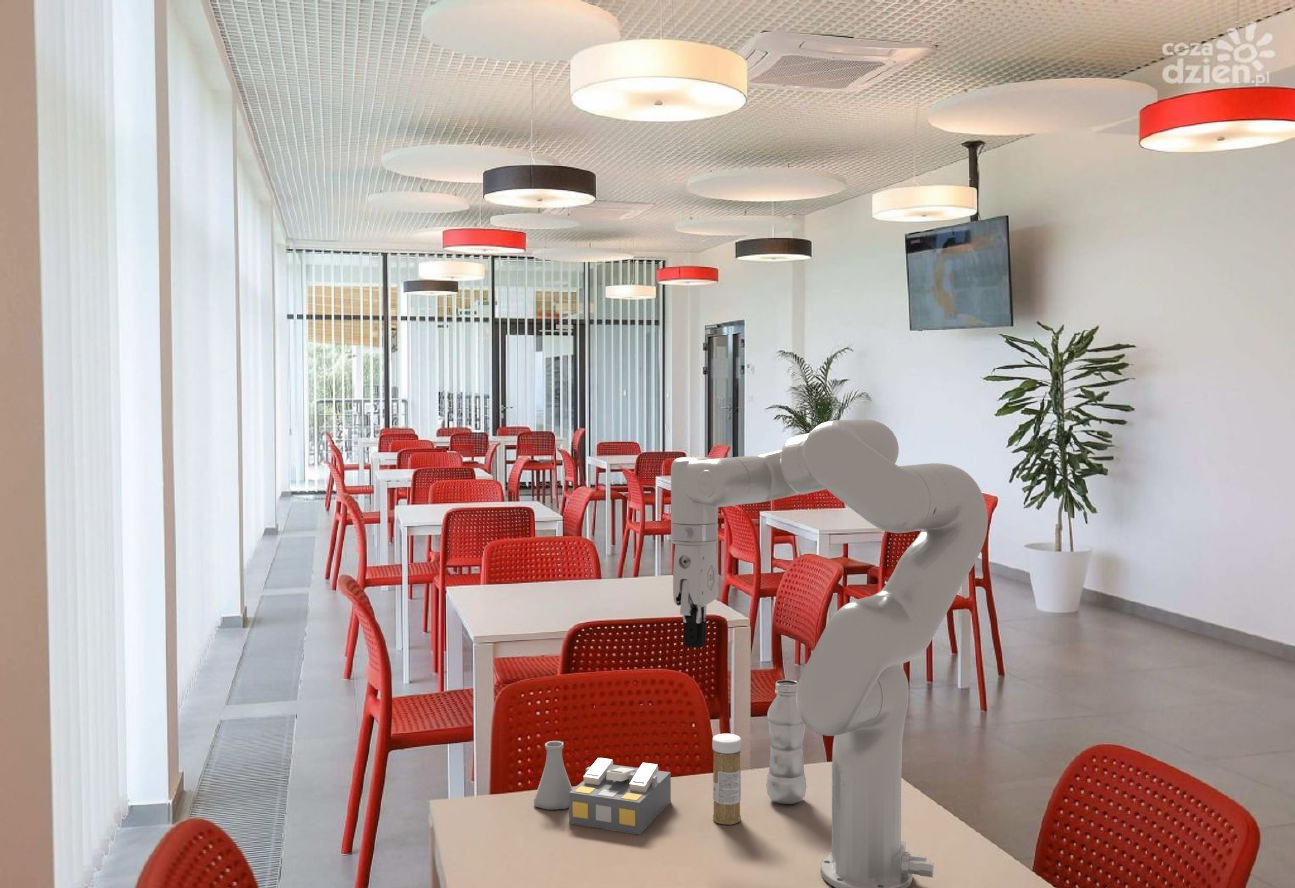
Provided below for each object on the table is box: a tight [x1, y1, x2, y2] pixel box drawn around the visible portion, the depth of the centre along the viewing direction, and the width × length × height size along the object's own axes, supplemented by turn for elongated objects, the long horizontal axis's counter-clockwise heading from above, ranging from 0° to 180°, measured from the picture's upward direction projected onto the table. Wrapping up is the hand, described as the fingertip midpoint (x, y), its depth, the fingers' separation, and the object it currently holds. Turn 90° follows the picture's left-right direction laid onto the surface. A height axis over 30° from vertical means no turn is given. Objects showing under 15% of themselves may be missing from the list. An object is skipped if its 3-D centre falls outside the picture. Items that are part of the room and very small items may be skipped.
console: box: [568, 764, 672, 836], centre depth 170 cm, size 12×14×7 cm
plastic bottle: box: [766, 679, 808, 805], centre depth 174 cm, size 6×7×20 cm
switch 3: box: [629, 762, 659, 792], centre depth 168 cm, size 3×6×1 cm, turn 159°
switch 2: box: [606, 767, 636, 781], centre depth 170 cm, size 3×6×1 cm, turn 159°
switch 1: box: [583, 757, 614, 785], centre depth 171 cm, size 3×6×1 cm, turn 159°
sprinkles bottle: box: [711, 732, 742, 825], centre depth 166 cm, size 5×5×14 cm
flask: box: [533, 740, 574, 810], centre depth 174 cm, size 7×7×10 cm
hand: (694, 645), depth 170 cm, fingers closed
